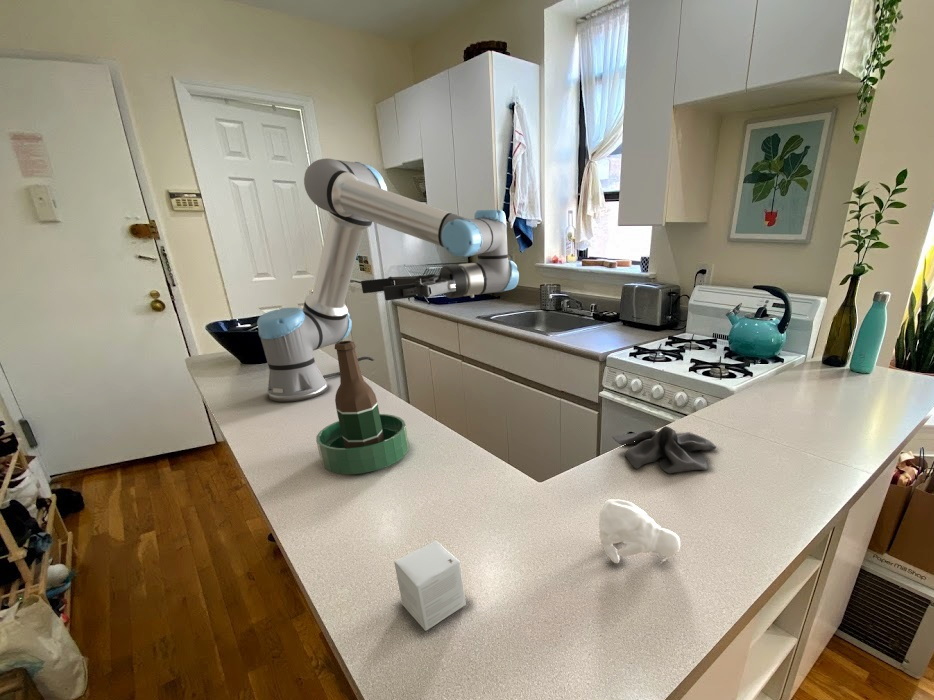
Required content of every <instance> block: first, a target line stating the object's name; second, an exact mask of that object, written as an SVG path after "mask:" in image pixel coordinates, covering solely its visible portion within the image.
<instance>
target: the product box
mask: <svg viewBox="0 0 934 700" xmlns="http://www.w3.org/2000/svg"><path fill="white" fill-rule="evenodd" d="M393 563H394V564H393V565H394V568H395V574H396V580H397V584H398V591H399V596H400V599H401V605H402V606H403V607H404V608H405V609H406V611H407V612H408V613H409V614H410V615H411V616H412V618H413V619H414V620H415V621H416V622H417V623H418V625H420V627H421V628H422V629H423V630H424V631H425V632H427V631H429V630H430V629H431V628H433V627H434V626H436V625H437V624H439V623H441V622H442V621H443V620H445V619H446V618H448V617H449V616H451V615H453V614H454V613H455V612H457V611H459V610H460V609H462V608H463V607H465V606H466V605H467V602H466V596H465V589H464V582H463V572H462V565H461V561H460V560H459V559H458V558H457V557H456V556H454V555H453V554H452V553H451V552H449V550H447V549H446V548H445V547H444V546H443V545H442V544H441V543H439V542H438V541H437V540H433V541H431V542H429V543H428V544H425V545H423V546H422V547H420V548H418V549H416V550H414V551H412V552H410V553H408V554H405V555H404V556H402V557H400V558H398V559H396V560H394V561H393Z"/></svg>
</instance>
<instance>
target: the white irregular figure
mask: <svg viewBox="0 0 934 700" xmlns="http://www.w3.org/2000/svg"><path fill="white" fill-rule="evenodd" d="M598 518H599V519H598V520H599V521H598V531H599V532H598V533H599V539H600V542H601V545H602V547H603V550H604V552H605V554H606V555H607V556H608V558H609V559H610V560H611V562H612V563H613V564H619V562H620V561H621V560H620V558H621V557H628V556H633V555H634V556H635V555H636V554H640V553H643V554H647V553H654V554H655V553H656V554H658V556H659V558H662V559H660V560H659V561H661V562H660V564H662V563H664V562H665V561H667V560H668V559H670V558H672V557H673V556H674V555H677V554H678V553H679V551H680V549H681V539H680V537H679V535H678V534H677V533H676V532H674V531H672V530H669V529H668V528H662V527H661V526H660V525H659V524H658V523H656V522H655V520H654V519H653V518H652V517H650V516H649V515H648V514H647V512H646V511H644V510H643V509H642V508H640V507H639V506H637V505H636V504H635V503H633V502H631V501H628V500H625V499H624V500H623V499H607V500H606V501H605V502H604V503H603V505H602V507H601V509H600V512H599V517H598ZM619 543H623V544H624V546H623V547H622V548H620V549H617V548H616V547H615V546H614V544H619Z"/></svg>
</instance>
